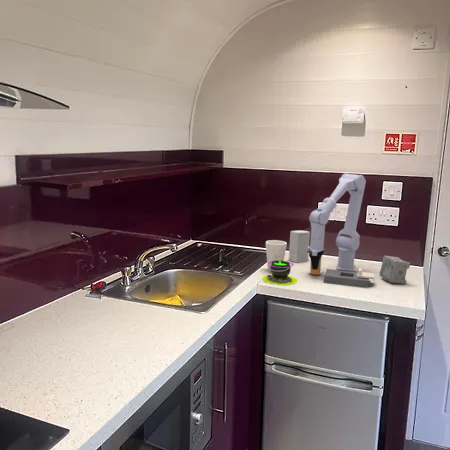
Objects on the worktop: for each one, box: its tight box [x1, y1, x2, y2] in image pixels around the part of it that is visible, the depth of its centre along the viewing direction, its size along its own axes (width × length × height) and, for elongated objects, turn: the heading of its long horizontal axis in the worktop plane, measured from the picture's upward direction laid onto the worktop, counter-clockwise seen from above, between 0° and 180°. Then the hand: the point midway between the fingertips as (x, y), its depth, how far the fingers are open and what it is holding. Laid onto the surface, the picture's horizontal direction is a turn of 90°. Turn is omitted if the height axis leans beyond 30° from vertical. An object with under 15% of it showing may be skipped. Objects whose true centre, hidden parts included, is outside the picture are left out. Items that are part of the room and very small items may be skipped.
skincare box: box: [288, 229, 311, 264], centre depth 230 cm, size 8×6×15 cm
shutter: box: [357, 267, 375, 280], centre depth 196 cm, size 7×7×3 cm
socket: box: [323, 268, 370, 289], centre depth 199 cm, size 11×18×3 cm, turn 71°
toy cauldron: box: [261, 254, 298, 286], centre depth 198 cm, size 15×15×11 cm
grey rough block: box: [379, 255, 411, 285], centre depth 201 cm, size 10×8×10 cm
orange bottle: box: [309, 257, 322, 276], centre depth 207 cm, size 4×4×8 cm
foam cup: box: [265, 239, 288, 273], centre depth 212 cm, size 10×9×13 cm
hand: (315, 267), depth 208 cm, fingers closed on orange bottle, 4 cm apart
